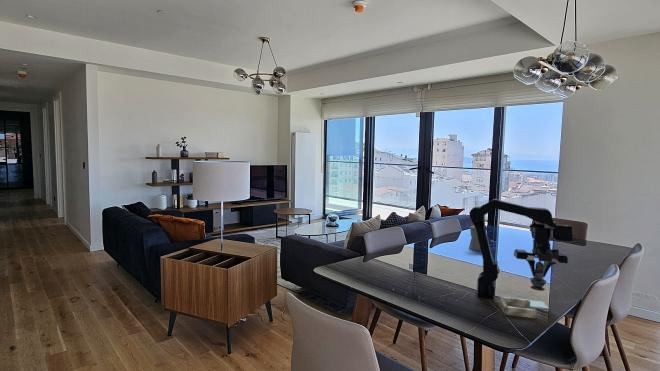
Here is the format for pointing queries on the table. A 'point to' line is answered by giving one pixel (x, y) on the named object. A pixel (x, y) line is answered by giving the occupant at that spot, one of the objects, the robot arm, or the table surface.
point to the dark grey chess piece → (538, 278)
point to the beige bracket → (516, 310)
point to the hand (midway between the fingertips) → (538, 276)
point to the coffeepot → (474, 239)
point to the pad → (538, 305)
